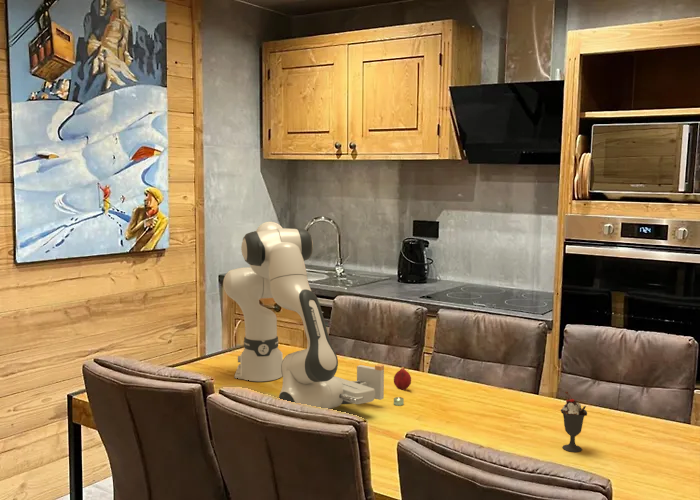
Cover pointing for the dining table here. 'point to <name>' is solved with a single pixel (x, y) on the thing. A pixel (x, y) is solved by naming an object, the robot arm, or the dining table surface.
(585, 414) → the sundae
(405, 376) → the onion
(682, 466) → the dining table surface
